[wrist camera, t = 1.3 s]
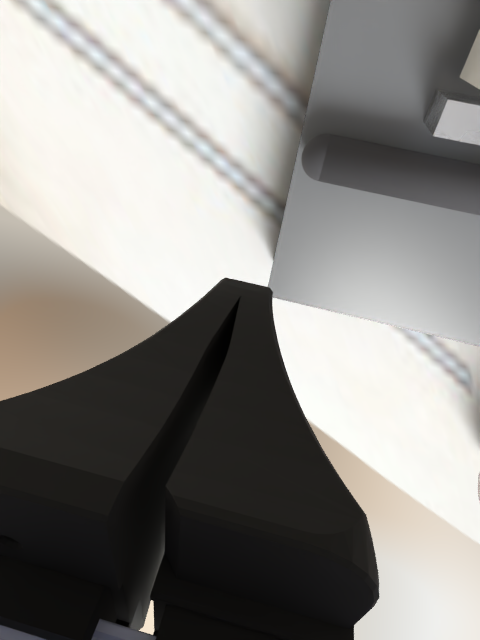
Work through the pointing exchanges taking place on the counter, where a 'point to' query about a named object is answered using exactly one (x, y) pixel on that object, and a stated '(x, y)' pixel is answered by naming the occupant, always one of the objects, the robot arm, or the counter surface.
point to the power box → (389, 172)
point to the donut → (479, 486)
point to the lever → (473, 64)
